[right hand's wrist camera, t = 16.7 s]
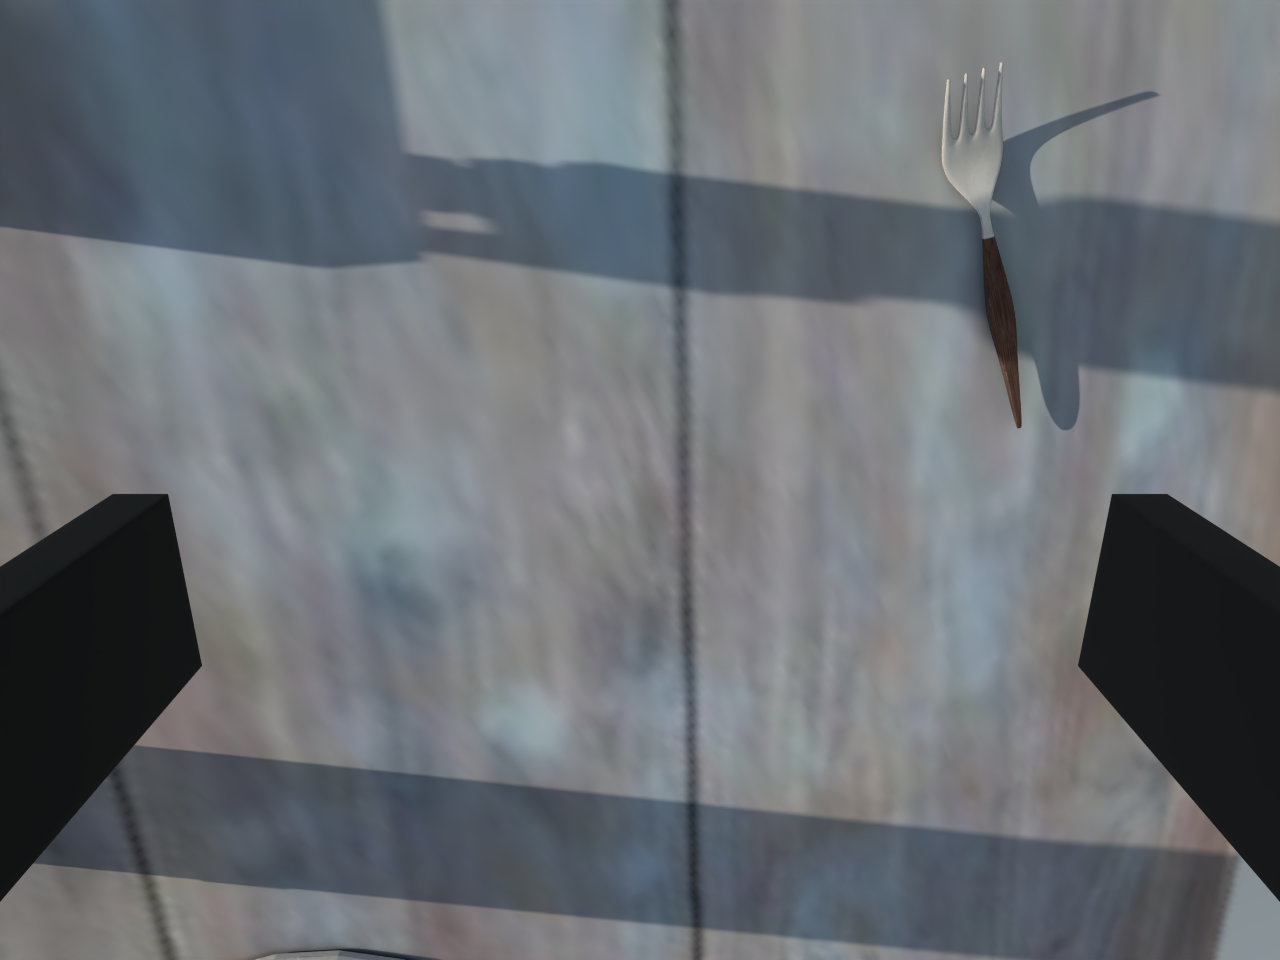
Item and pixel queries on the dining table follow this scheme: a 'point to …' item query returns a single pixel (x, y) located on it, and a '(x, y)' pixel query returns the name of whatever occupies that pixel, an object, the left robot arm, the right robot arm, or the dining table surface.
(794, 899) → the dining table surface
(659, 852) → the dining table surface
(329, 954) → the wall clock
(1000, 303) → the fork
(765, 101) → the dining table surface
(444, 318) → the dining table surface
